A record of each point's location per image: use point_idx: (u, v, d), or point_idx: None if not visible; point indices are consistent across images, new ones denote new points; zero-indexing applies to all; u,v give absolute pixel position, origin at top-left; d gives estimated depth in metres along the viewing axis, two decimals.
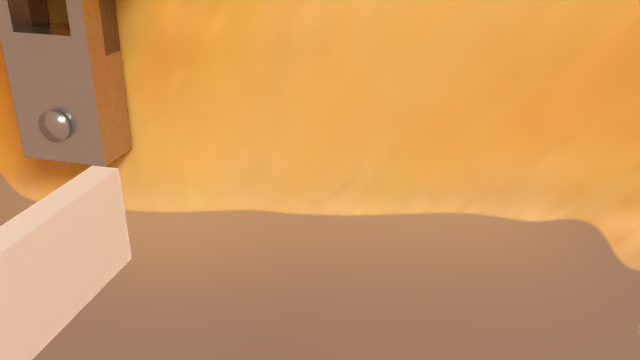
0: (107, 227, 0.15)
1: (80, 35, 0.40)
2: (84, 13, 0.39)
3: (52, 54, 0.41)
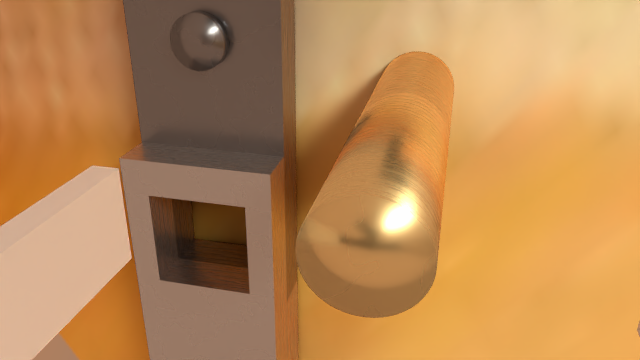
0: (107, 227, 0.15)
1: (264, 294, 0.27)
2: (274, 268, 0.26)
3: (217, 312, 0.28)
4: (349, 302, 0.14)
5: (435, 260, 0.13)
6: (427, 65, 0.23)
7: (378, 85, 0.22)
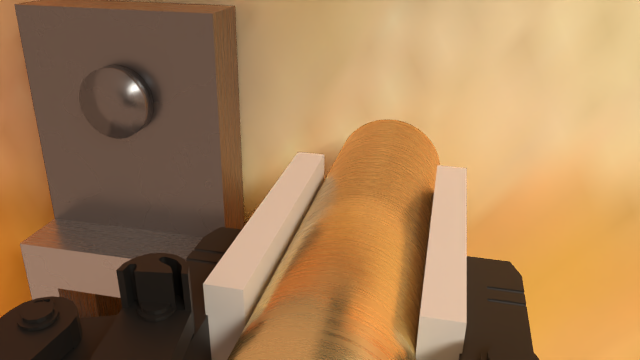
0: None
1: None
2: None
3: None
4: None
5: None
6: (399, 146, 0.16)
7: (326, 181, 0.15)
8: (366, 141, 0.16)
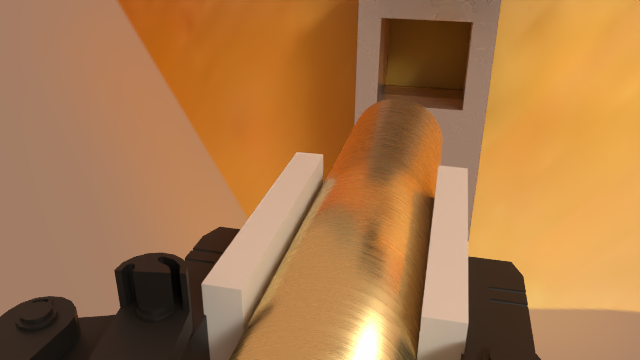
0: None
1: (477, 109, 0.31)
2: (489, 82, 0.30)
3: None
4: None
5: None
6: (407, 119, 0.18)
7: (344, 148, 0.17)
8: (378, 115, 0.18)
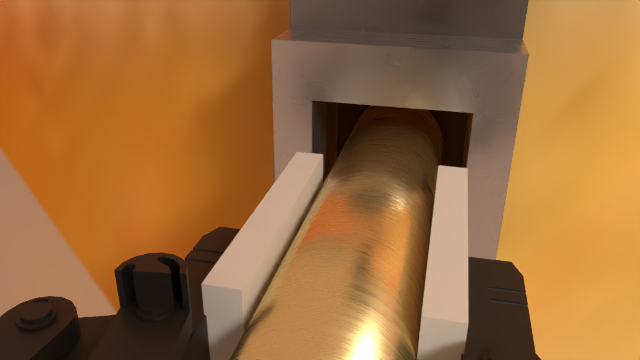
0: None
1: (480, 255, 0.18)
2: (502, 213, 0.17)
3: None
4: None
5: None
6: (407, 120, 0.18)
7: (344, 148, 0.17)
8: (378, 116, 0.18)
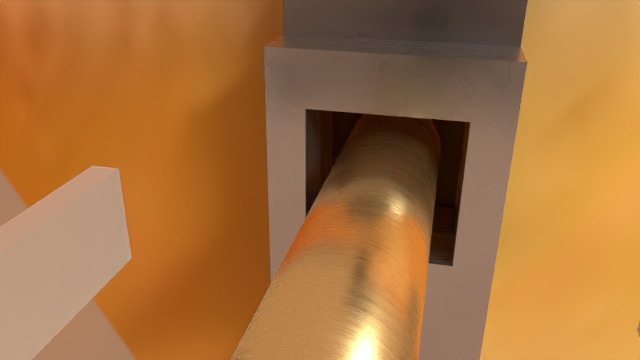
0: (107, 227, 0.15)
1: (478, 266, 0.17)
2: None
3: None
4: None
5: None
6: (405, 123, 0.18)
7: (343, 152, 0.17)
8: (376, 119, 0.18)
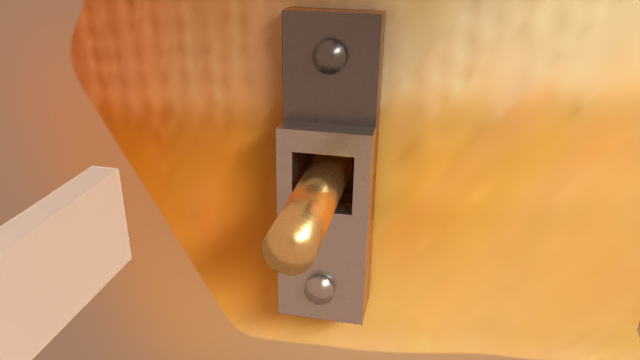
0: (107, 227, 0.15)
1: (361, 215, 0.43)
2: (369, 197, 0.42)
3: (328, 229, 0.44)
4: (283, 269, 0.34)
5: (314, 251, 0.33)
6: (333, 157, 0.44)
7: (307, 169, 0.43)
8: (321, 155, 0.44)
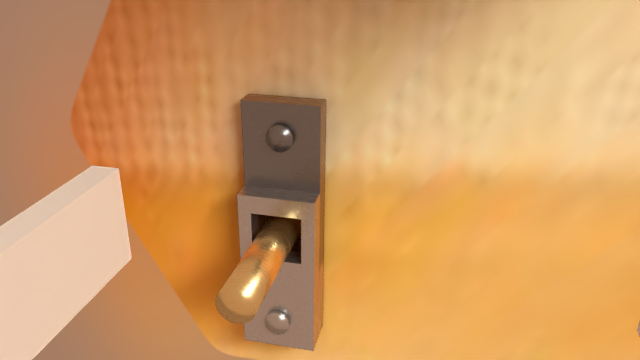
0: (107, 227, 0.15)
1: (309, 264, 0.52)
2: (314, 250, 0.51)
3: (283, 274, 0.53)
4: (233, 319, 0.43)
5: (255, 306, 0.42)
6: None
7: (263, 226, 0.52)
8: None
